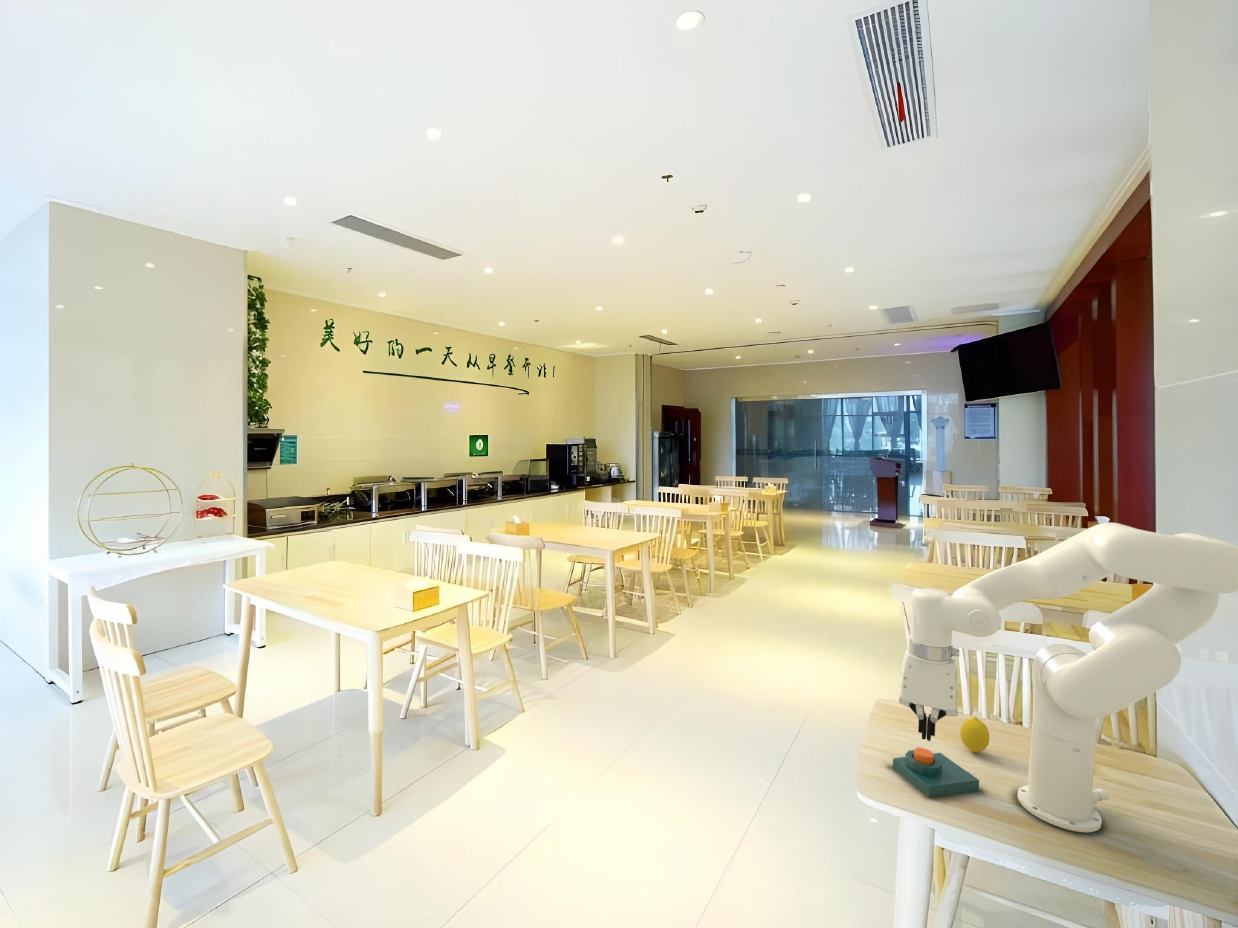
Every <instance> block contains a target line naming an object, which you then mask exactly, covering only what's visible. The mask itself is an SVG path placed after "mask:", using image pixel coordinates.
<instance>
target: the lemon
mask: <svg viewBox="0 0 1238 928" xmlns="http://www.w3.org/2000/svg"><path fill="white" fill-rule="evenodd" d="M959 730H960V731H959V737H960V740H961V742H962V743H963V745H964V746H965V747H966V748H967V749H969V750H970V751H971V753H974V754H976V753H978V752H983V751H985V750H986V749H987V748H988V746H989V743H990V733H989V729H988V727H987V726H986V724H985V723H984V722H983V721H982V720H980V719H979V718H978V717H970V718H967V719H965V720H964V721H963V722H962V724H961V726H960V729H959Z"/></svg>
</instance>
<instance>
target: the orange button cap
mask: <svg viewBox="0 0 1238 928" xmlns="http://www.w3.org/2000/svg"><path fill="white" fill-rule="evenodd" d="M913 750H914V759H915V760H916V761H918V762H920V763H923V764H928V765H930V764H933V761H934V753H933V751H931V750H929V749H927V748H925V747H915V748H914V749H913Z"/></svg>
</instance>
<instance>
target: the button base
mask: <svg viewBox="0 0 1238 928" xmlns="http://www.w3.org/2000/svg"><path fill="white" fill-rule="evenodd" d="M933 754H934V761H933V764H930V765H928V764H923V763H920V762H918V761H916V760H915V759H914V749H910V750H907V752H905V755H904V756H901V757H893V759H892V769H893V770H894V771H896V772H897V773H898V774H899V775H900V776H901V777H903V779H905V780H906V781H908V782H909V783H910V784H911V785H913V786H914V787H915V788H916V789H918V791H920V792H921V794H923V795H925V796H926V797H927V798H935V797H943V796H949V795H956V794H957V795H958V794H963V793H972V792H978V791H980V780H979V779H978V778H977V777H976V776H974V775H973V774H971V773H970V772H969V771H967V770H966V769H964V767H961V766H960V765H958V764H957V763H956V762H954V761H953V760H952V759H950V758H949V757H947V756H945V755H944V754H943V753H941V752H935V753H933Z"/></svg>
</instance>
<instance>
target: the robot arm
mask: <svg viewBox="0 0 1238 928" xmlns="http://www.w3.org/2000/svg"><path fill="white" fill-rule="evenodd" d="M1112 575H1118V576H1120V577H1124V578H1127V579H1132V580H1136V581H1142V582H1147V583H1152V584H1153V585H1152V586H1151V588H1149V589H1148V590H1147V591H1145V592H1144V593H1143V594H1142V595H1140V596H1139V597H1137V598H1136V599H1134V600H1132V601H1131V602H1129V603H1127V604H1125V605H1124V606H1122V607H1120V608H1118V609H1117V610H1115V611H1113V612H1112V613H1110V614H1108V615H1106V616H1104V617H1103V618H1101V619H1099V620H1098V621H1096V622H1095V623H1094V624H1093V625H1092V626H1091V627H1090V629H1089V632H1088V640H1089V644H1090V646H1091V647H1092V649H1093V650H1092V651H1091V652H1090V653H1087V654H1086V652H1084V651H1082V650H1081V649H1079V648H1077V647H1075V646H1072V645H1069V644H1065V643H1052V644H1048V645H1046V646H1044V647H1041V648H1040V649H1039V651H1038V652H1036V654H1035V656H1034V658H1033V661H1032V666H1031V667H1032V668H1031V679H1032V721H1031V731H1030V732H1031V734H1030V749H1029V765H1028V779H1027V780H1028V781H1027V784H1025V785H1022V786H1020V787H1019V788H1018V790H1017V800H1018V802H1019V803H1020V804H1021V806H1022V807H1023V808H1024V809H1025V810H1026V811H1027V812H1029V813H1030V814H1032V815H1033V816H1035V817H1036V818H1038V819H1039V820H1042V821H1044V822H1045V823H1048V824H1050V825H1052V826H1055V827H1058V828H1061V829H1064V830H1068V831H1070V832H1071V831H1072V832H1077V833H1095V832H1097V831H1099V830H1100V829H1101V828H1102V824H1103V823H1102V821H1103V819H1102V816H1101V814H1100V813H1099V811H1097V810H1096V808H1095V804H1097V803H1098V802H1103V801H1104V802H1105V801H1108V800H1109V793H1108V792H1107V791H1106V790H1105V789H1103V788H1095V789H1094V788H1093V786H1094V774H1095V773H1094V772H1095V758H1096V744H1097V734H1098V732H1097V731H1098V720H1100V719H1104V718H1106V717H1109V716H1112V715H1114V714H1117V713H1118V712H1121V711H1122V710H1124V709H1126V708H1128V707H1130V706H1131V705H1133V704H1135V703H1137V702H1139V701H1141V700H1143V699H1144V698H1147V697H1148V696H1151V695H1152V694H1154V693H1156V692H1158V691H1160V690H1161V689H1163V688H1165V687H1167V685H1169V684H1170V683H1171V682H1173V680H1174V679H1175V678H1176V677H1177V676H1178V674H1179V672H1180V669H1181V666H1182V657H1181V653H1180V650H1179V649H1178V647H1177V646H1176V645H1177V644H1178V643H1180V642H1181V641H1183V640H1185V639H1186V638H1188V637H1190V636H1191V635H1193V634H1194V633H1196V632H1197V631H1199V630H1200V629H1201V628H1203V627H1204V626H1206V625H1207V623H1209V621H1210V620H1211V619H1212V618H1213V616H1214V614H1215V613H1216V610H1217V608H1218V605H1219V603H1220V602H1219V600H1220V596H1221V595H1220V594H1230V593H1231V594H1232V593H1236V592H1238V545H1236V544H1233V543H1231V542H1228V541H1225V540H1221V539H1217V538H1214V537H1209V536H1206V535H1202V534H1198V533H1190V532H1181V533H1176V534H1167V533H1159V532H1155V531H1150V530H1149V531H1148V530H1144V529H1139V528H1136V527H1132V526H1130V525H1126V524H1122V523H1118V522H1110V521H1109V522H1102V523H1098V524H1095V525H1093V526H1091V527H1088V528H1087V529H1084V530H1082V531H1081V532H1079V533H1077V534H1074V535H1073V536H1070V537H1069V538H1066V539H1065V540H1063V541H1061V542H1059V543H1057V544H1055V545H1053V546H1052V547H1049V548H1047V549H1045V550H1043V551H1041V552H1040V553H1038V554H1036V555H1034V556H1031V557H1029V558H1026V559H1024V560H1021V561H1017V562H1015V563H1013V564H1010V565H1006V566H1004V567H1001V568H998V569H996V570H992V571H990V572H988V573H986V574H984V575H982V576H980V577H977V578H976V579H974V580H972V581H971V582H969V583H966V584H964V585H962V586H961V587H959V588H958V589H956V591H954V593H953V594H952V595H951V594H949V593H948V592H947V591H944V590H941V589H937V588H936V589H935V588H930V587H929V588H927V587H922V588H916V589H914V591H912V593H911V596H910V597H911V598H910V623H909V643H908V645H909V649H906V650H905V653H904V655H903V661H902V667H901V676H900V694H899V698H898V703H899V704H900V705H902V706H905V707H907V708H910V710H911V711H912V712H913V714H915V715H916V718H917V719H918V727H917V728H918V729H917V732H918V734H919V733H920V734H921V740H924V741H925V740H926V741H927V742H931V740H932V737H936V723H937V722H938V721H939V720H941V719H943V718H944V717H955V718H956V717H958V715H959V710H958V706H957V702H958V672H957V671H958V670H957V664H956V663H957V662H956V659H954V658H953V657H960V649H958V648H955V647H954V646H952V642H953V640H952V637H953V631H954V632H956V633H960V634H964V635H968V636H973V637H977V638H985V637H986V638H987V637H990V636H992V635H994V634H996V633H997V632H998V631H999V629H1000V627H1001V625H1002V618H1001V614H1000V612H999V611H1002V610H1004V609H1006V608H1008V607H1010V606H1013V605H1015V604H1019V603H1021V602H1022V603H1023V602H1025V601H1030V600H1031V601H1032V600H1055V599H1062V598H1063V599H1064V598H1066V597H1068V596H1070V595H1072V594H1074V593H1076V592H1078V591H1080V590H1083V589H1084V588H1087V587H1089V586H1091V585H1093V584H1095V583H1097V582H1100V581H1102V580H1104V579H1105V578H1107V577H1110V576H1112ZM925 707H928V708H931V711H930V714H929V715H928V716H927V712H925Z"/></svg>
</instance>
